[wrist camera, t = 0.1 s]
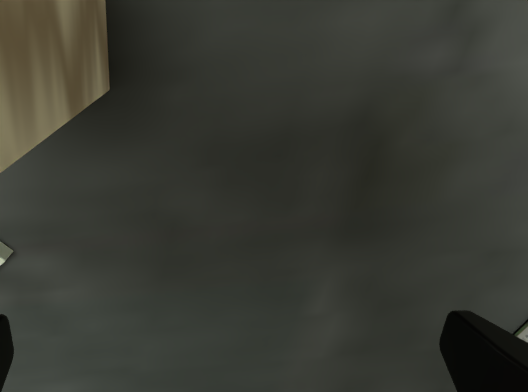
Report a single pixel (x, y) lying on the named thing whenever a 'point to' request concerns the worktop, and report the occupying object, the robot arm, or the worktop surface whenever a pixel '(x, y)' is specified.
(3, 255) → the seat plate
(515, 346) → the robot arm
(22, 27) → the pine post
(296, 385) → the worktop surface
